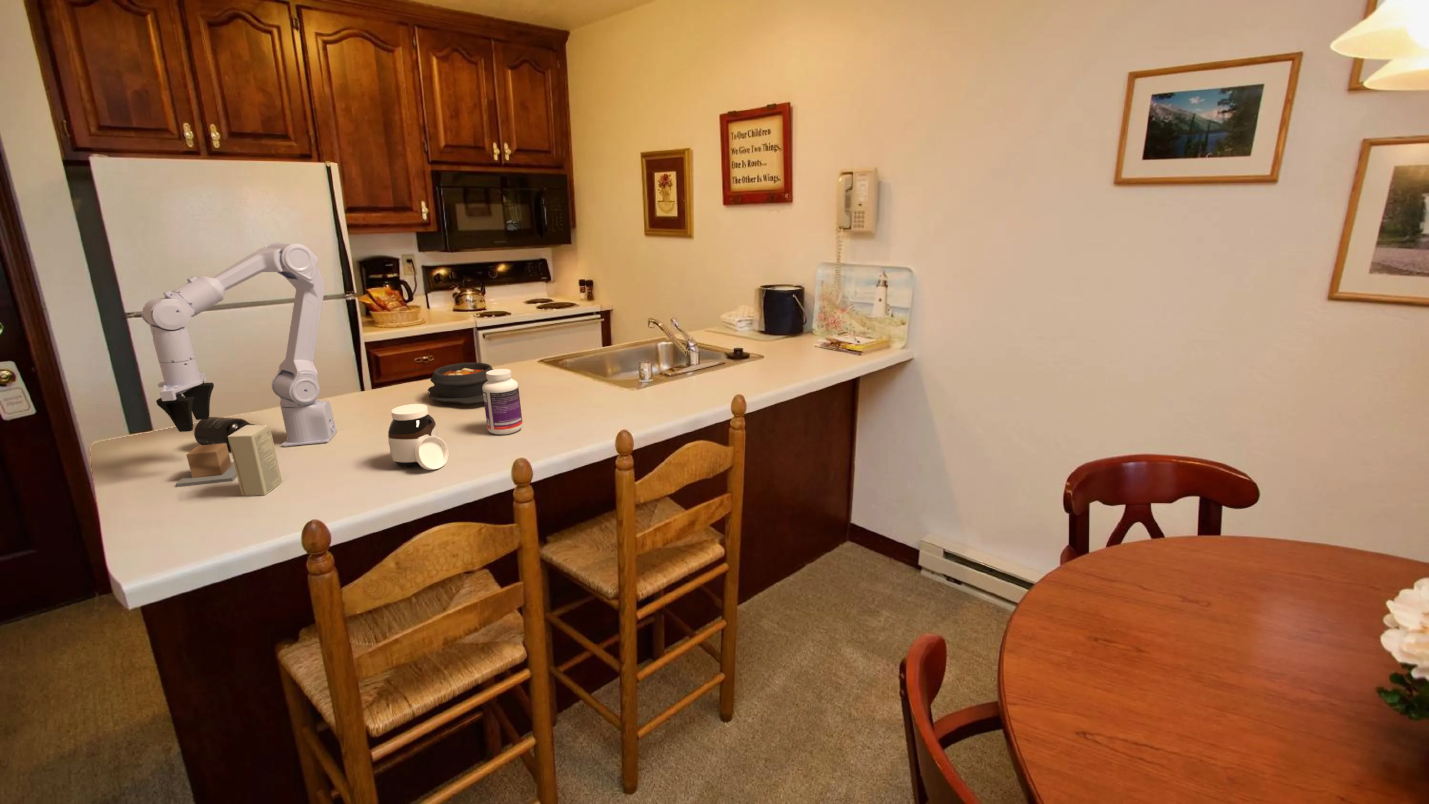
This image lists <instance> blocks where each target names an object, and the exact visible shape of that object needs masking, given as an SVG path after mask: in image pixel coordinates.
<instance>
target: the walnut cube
mask: <svg viewBox="0 0 1429 804" xmlns="http://www.w3.org/2000/svg"><path fill="white" fill-rule="evenodd" d="M186 459H187V463H188V466H189V470H190V471H191V474H192V478H200V477H209V476H219V475H223V474H224V473H225V472H226V471H227V470H228V469H229V468H230V467H231V466H232V464H231V462H232V461H231V458H230V452H229V449H228V448H227V444H226V443H222V444H211V445H196V446H195V447H194V448H193V449H192V450H191V451H189V452H188V453H187V454H186Z"/></svg>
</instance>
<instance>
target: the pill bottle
mask: <svg viewBox="0 0 1429 804" xmlns="http://www.w3.org/2000/svg"><path fill="white" fill-rule="evenodd" d="M486 378H487V380H488V381H487V382H485V383H484V385H483V387H482V390H483V397H484V402H483V405H484V412H485V419H486V427H487V431H488V432H489V433H490V434H494V435H499V436H500V435H509V434H514V433H516V432H518V431H520V430H521V429H522V428H523V416H522V414H523V413H522V407H521V398H520V390H519V383H518V381H517V380H515V379H513V378H512V369H509V368H495V369H493V370H490V371H488V372H486Z"/></svg>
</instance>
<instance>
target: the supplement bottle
mask: <svg viewBox="0 0 1429 804" xmlns="http://www.w3.org/2000/svg"><path fill="white" fill-rule="evenodd" d="M246 425H256V424H255V423H250V422H249V421H247V420H245V419H243V418H236V417H235V418H233V417H222V416H209V418H208V419H203V420H198V422H197V424H196V425H195V426H194V429H193V437H194V439H195V441H196V442H197V443H198V444H199V446H201V445H211V444H222V443H226V444H227V448H228V450H229V449H230V450H231V448H230V444H229V440H228V436H229V435H231V434H232V433H234V432H236V431H237V430H239V429H241V428H242V427H244V426H246Z"/></svg>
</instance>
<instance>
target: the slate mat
mask: <svg viewBox="0 0 1429 804" xmlns="http://www.w3.org/2000/svg"><path fill="white" fill-rule="evenodd" d="M231 464H232V466H231V467H230V468H229V469H228V470H227V471H226V472H225V473H224V474H223V475H219V476H209V477H200V478H192V474H191V470H190V471H189V472H188V473H187V474H185V475H184V476H183V477H182V478H180V479H179V480H178V481H177V482H176V483H174V484H175V487H176V488H179V487H186V486H189V487H190V486H196V485H206V484H215V483H216V484H217V483H226V482H227V483H228V482H233V481H234V480H235V479H236V478H238V477H237V473H236V469H235V465H234V461H231Z"/></svg>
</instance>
